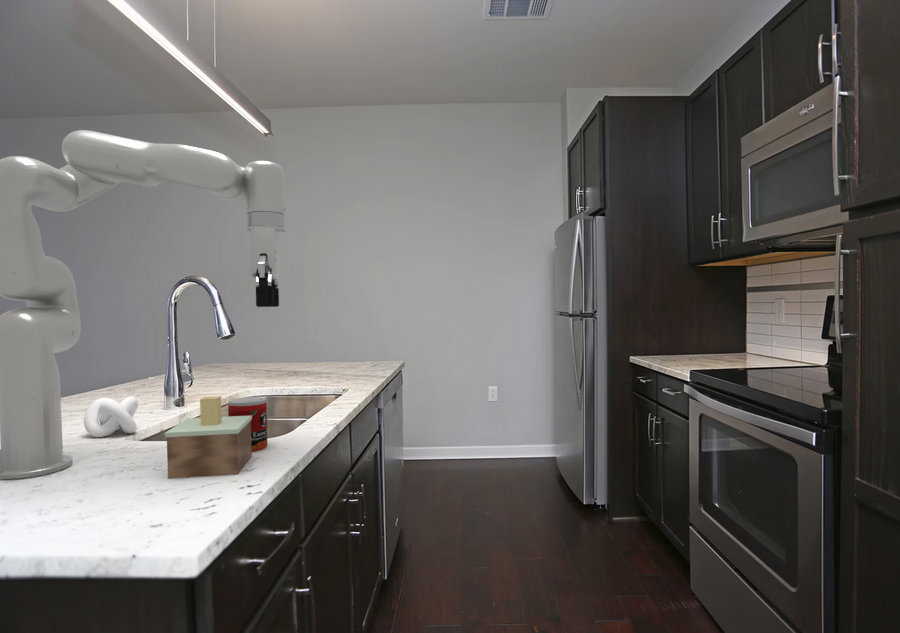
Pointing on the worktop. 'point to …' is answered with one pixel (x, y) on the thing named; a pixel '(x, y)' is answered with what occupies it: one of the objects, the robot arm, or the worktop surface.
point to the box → (208, 454)
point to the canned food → (259, 418)
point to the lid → (209, 421)
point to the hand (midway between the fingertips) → (268, 306)
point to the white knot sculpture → (110, 416)
